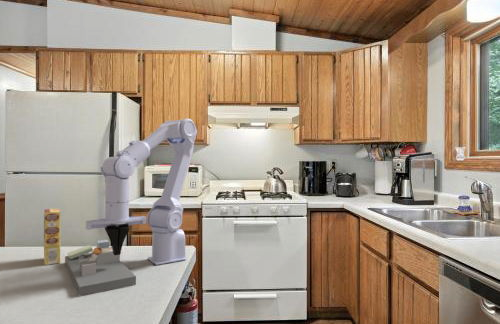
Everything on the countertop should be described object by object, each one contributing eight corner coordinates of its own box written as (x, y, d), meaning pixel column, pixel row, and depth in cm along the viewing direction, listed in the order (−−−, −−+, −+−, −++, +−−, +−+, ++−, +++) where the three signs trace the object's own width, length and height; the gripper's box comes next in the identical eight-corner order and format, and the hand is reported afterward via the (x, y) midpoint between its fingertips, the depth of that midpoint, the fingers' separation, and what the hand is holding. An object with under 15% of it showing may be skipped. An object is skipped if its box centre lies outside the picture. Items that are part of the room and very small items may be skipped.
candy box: (60, 263, 94) (61, 211, 94) (43, 265, 91) (44, 212, 92) (59, 256, 101) (59, 208, 101) (43, 258, 99) (44, 208, 99)
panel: (108, 256, 101) (108, 240, 101) (135, 284, 76) (136, 263, 77) (64, 263, 94) (65, 246, 94) (79, 296, 70) (79, 273, 70)
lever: (89, 269, 81) (102, 247, 83) (91, 272, 79) (104, 250, 80) (81, 267, 80) (94, 244, 82) (83, 269, 78) (97, 247, 80)
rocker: (90, 247, 97) (89, 244, 97) (92, 250, 93) (91, 247, 93) (68, 256, 93) (67, 252, 93) (70, 259, 90) (69, 256, 90)
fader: (106, 251, 99) (106, 239, 99) (109, 253, 96) (109, 241, 96) (96, 252, 97) (96, 240, 97) (98, 255, 94) (98, 243, 94)
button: (112, 256, 92) (112, 246, 92) (115, 259, 89) (115, 249, 89) (97, 258, 90) (97, 248, 90) (100, 262, 87) (100, 251, 87)
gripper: (140, 199, 91) (140, 247, 91) (84, 202, 83) (83, 255, 83) (148, 201, 85) (148, 252, 85) (88, 204, 77) (87, 261, 77)
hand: (116, 254), depth 83 cm, fingers closed
